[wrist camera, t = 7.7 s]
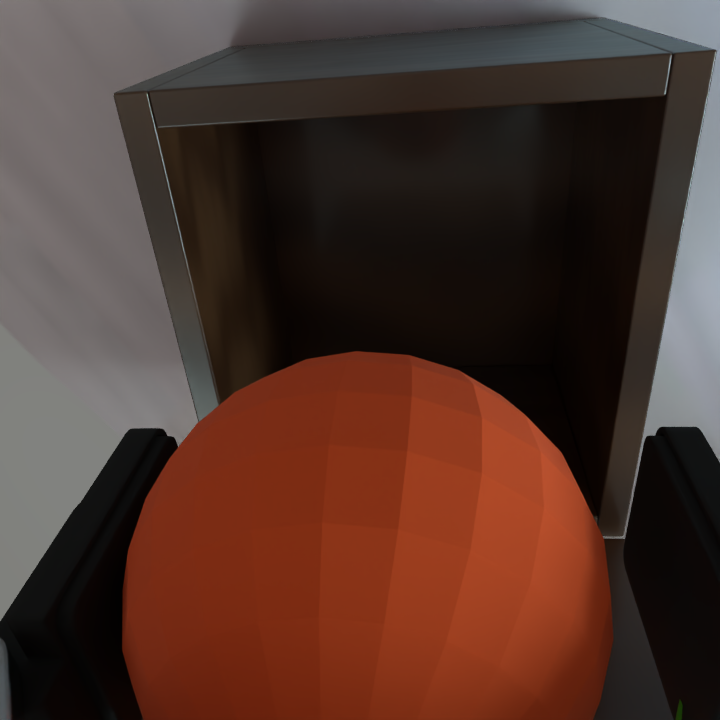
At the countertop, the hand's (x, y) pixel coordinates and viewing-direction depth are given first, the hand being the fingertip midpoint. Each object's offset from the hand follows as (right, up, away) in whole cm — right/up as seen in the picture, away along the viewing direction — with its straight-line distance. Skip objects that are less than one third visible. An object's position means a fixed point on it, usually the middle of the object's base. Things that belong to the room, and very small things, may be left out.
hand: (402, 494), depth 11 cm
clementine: (0, +1, +1) cm, 2 cm away
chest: (+2, +8, +16) cm, 18 cm away
